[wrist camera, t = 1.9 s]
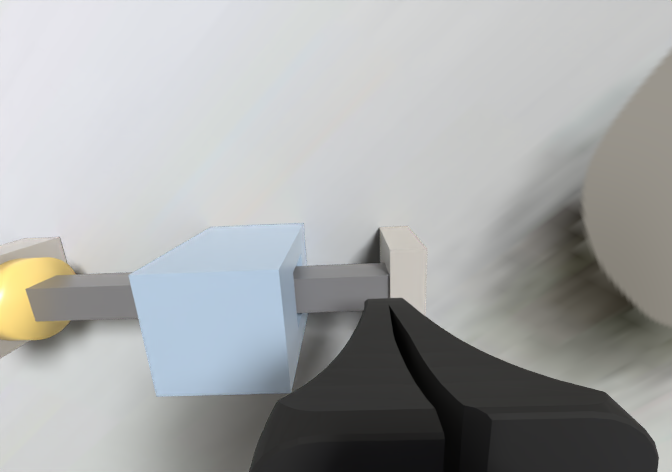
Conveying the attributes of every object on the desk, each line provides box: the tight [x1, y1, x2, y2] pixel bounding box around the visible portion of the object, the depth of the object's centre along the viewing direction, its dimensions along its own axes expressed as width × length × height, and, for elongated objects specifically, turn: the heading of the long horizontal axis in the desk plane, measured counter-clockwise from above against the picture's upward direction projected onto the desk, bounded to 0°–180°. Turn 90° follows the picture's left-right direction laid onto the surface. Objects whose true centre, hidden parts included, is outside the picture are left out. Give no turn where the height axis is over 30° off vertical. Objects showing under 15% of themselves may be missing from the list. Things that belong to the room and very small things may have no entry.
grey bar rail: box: [0, 226, 427, 359], centre depth 15 cm, size 21×4×5 cm, turn 93°
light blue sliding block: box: [129, 223, 308, 396], centre depth 14 cm, size 5×5×7 cm
